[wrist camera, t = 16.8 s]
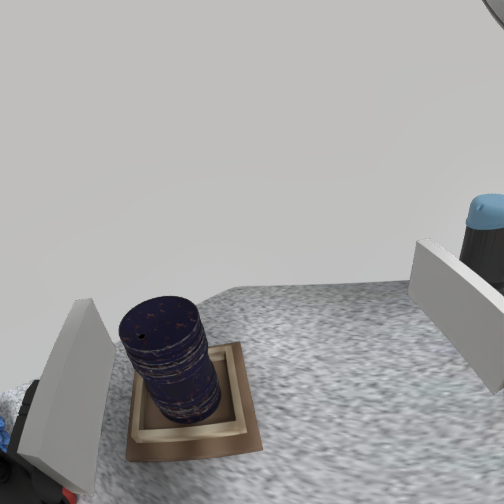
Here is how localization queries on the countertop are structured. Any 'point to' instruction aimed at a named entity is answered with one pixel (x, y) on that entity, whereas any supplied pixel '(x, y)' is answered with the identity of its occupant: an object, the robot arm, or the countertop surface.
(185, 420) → the dark blue barrel
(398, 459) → the countertop surface
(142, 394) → the base board
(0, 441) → the grapes
